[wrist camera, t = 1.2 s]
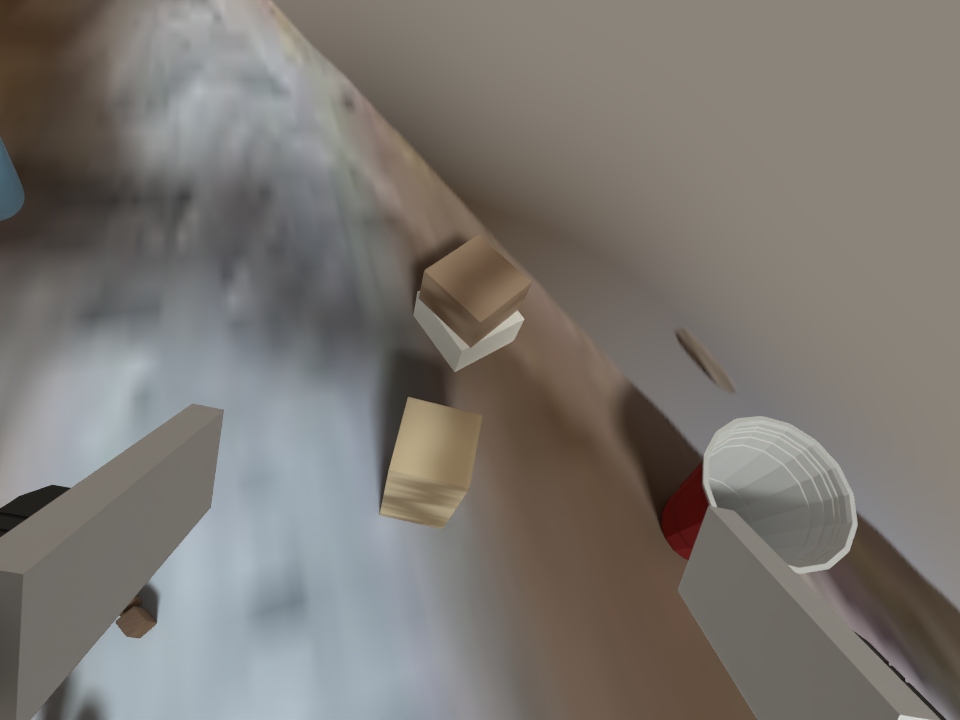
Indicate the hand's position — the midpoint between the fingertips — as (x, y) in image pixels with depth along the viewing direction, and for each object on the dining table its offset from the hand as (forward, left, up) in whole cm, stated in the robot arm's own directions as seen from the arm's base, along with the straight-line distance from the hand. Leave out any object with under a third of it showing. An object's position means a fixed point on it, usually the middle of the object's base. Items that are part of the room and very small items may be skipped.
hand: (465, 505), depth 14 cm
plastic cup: (+9, +24, -29) cm, 39 cm away
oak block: (-6, +6, -29) cm, 30 cm away
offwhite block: (-17, +18, -29) cm, 38 cm away
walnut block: (-18, +18, -25) cm, 36 cm away
